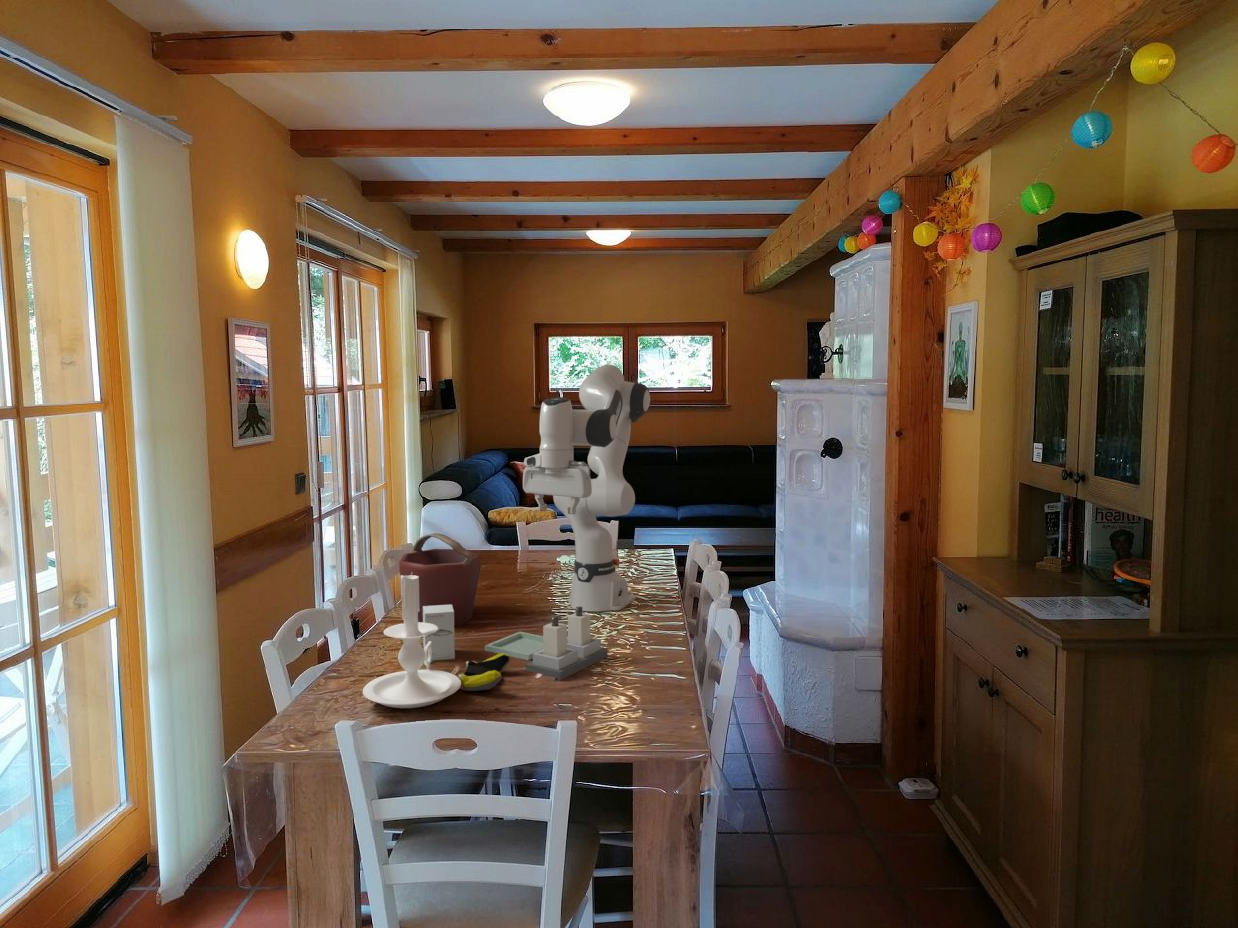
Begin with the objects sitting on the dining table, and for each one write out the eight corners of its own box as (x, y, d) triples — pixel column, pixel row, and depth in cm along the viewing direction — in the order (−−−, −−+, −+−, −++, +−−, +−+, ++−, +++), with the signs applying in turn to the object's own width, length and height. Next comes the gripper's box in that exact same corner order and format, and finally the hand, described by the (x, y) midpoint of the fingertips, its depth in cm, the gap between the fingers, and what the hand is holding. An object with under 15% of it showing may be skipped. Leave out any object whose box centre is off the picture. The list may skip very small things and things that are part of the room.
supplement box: (424, 663, 204) (423, 613, 203) (423, 654, 211) (422, 605, 210) (455, 661, 206) (454, 611, 205) (453, 651, 213) (452, 603, 212)
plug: (577, 647, 210) (577, 604, 209) (590, 649, 208) (590, 606, 207) (568, 651, 207) (567, 608, 206) (581, 654, 205) (581, 610, 204)
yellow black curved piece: (511, 673, 198) (469, 673, 198) (511, 650, 197) (468, 650, 197) (500, 697, 183) (454, 697, 183) (499, 673, 182) (454, 672, 182)
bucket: (491, 625, 236) (490, 537, 233) (415, 637, 224) (412, 546, 222) (460, 605, 257) (458, 524, 254) (388, 615, 245) (386, 531, 243)
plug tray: (519, 638, 224) (519, 631, 224) (562, 646, 217) (562, 640, 216) (484, 652, 212) (484, 645, 212) (528, 662, 205) (528, 655, 205)
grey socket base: (574, 649, 215) (574, 599, 213) (607, 656, 209) (607, 605, 208) (525, 672, 198) (525, 619, 196) (559, 680, 192) (559, 625, 191)
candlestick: (475, 677, 195) (473, 559, 192) (447, 720, 170) (444, 585, 167) (388, 675, 196) (384, 558, 193) (348, 718, 172) (343, 584, 169)
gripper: (596, 461, 216) (596, 514, 217) (533, 457, 227) (534, 507, 228) (582, 463, 210) (582, 517, 212) (518, 459, 221) (519, 510, 223)
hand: (557, 512), depth 220 cm, fingers open, 8 cm apart
